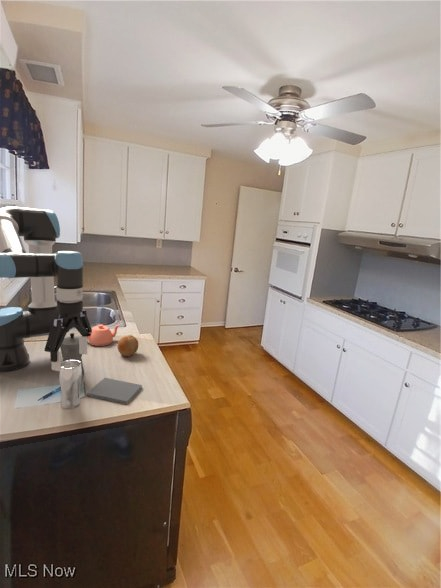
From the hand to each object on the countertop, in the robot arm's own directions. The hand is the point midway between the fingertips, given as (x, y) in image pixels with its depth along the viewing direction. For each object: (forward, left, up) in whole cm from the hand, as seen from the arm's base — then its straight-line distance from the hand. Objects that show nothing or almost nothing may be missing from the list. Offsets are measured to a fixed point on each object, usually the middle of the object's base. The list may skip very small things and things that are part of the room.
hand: (70, 361), depth 102 cm
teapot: (-20, +52, -16) cm, 58 cm away
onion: (-1, +43, -16) cm, 46 cm away
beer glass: (0, 0, -16) cm, 16 cm away
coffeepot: (-13, +17, -16) cm, 27 cm away
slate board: (+10, +12, -16) cm, 22 cm away
